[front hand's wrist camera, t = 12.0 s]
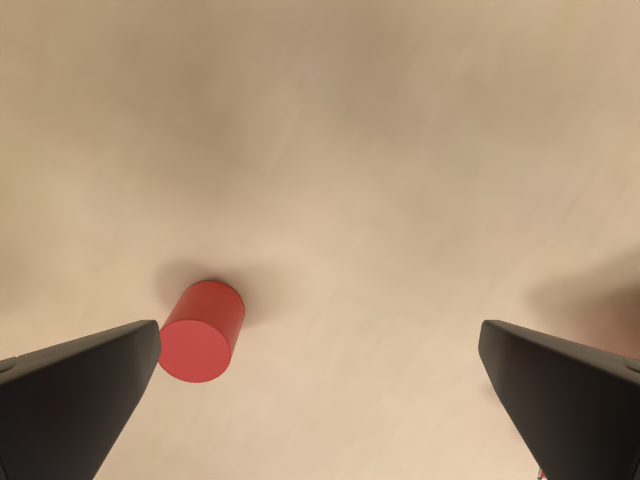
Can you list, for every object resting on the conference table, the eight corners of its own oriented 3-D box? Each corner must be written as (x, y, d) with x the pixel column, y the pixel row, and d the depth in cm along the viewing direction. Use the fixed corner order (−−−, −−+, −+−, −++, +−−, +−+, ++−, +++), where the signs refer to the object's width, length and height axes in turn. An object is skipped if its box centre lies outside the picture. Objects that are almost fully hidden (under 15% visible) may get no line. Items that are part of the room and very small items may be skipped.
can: (216, 268, 24) (196, 305, 20) (258, 316, 25) (246, 360, 21) (166, 301, 25) (137, 344, 21) (208, 346, 26) (188, 395, 22)
